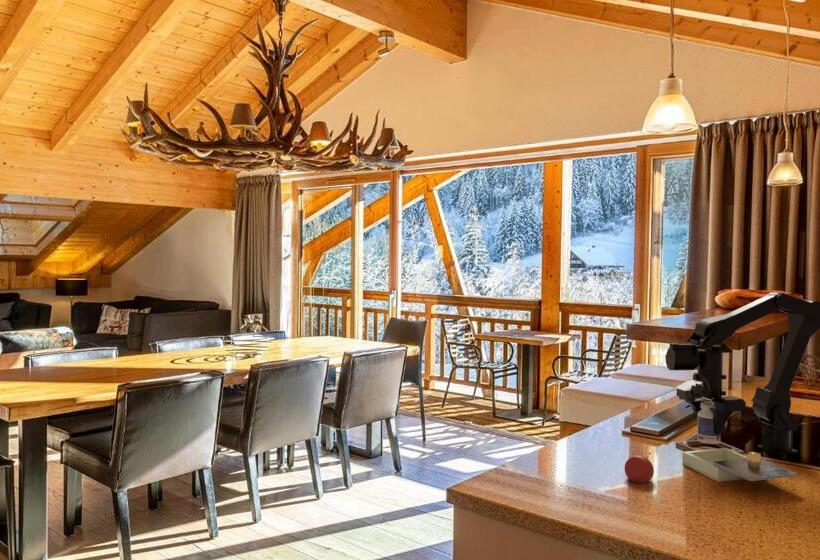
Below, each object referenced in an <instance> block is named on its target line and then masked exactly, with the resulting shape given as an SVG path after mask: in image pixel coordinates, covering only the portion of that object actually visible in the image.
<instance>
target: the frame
mask: <svg viewBox="0 0 820 560" xmlns="http://www.w3.org/2000/svg"><path fill="white" fill-rule="evenodd" d="M684 442H686V443H688V446H686V445H684V444H683V443H684ZM704 445H708V444H707V443H702V442H700V441H698V439H692V440H680V441H675V447H676V448H679V449H681V450H683V451H684V452H687V451H697V450H698V449H695V448H693V446H704ZM713 445H714V446H717V447H718V448H727V449H730V450H731V449H735V450H736V451H735V452H737V453H739V454H742V455H744V456H745V451H744V450H742V449H740V448H737V447H735V446H732V445H729V444H727V443H725V442H722V441H720V443H718V444H713Z"/></svg>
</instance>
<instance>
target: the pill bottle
mask: <svg viewBox="0 0 820 560" xmlns="http://www.w3.org/2000/svg"><path fill="white" fill-rule="evenodd" d="M709 408H715V406H714V403H713V402H701V409H702V410H700V411H699V412H698V423H697V422H696V423H697V425H696V426H697V431H696V432H697V435H696V436H697V438H696V440H698V441H700V442H702V443H707V444H706V445H714V444H718V443H720V442H721V439H722V438H721V435H722V434H721V433H722V431H721V432H720V434H719V435H716V434H715V432H714V420H713V413H712V412H711V411H710V410H709Z"/></svg>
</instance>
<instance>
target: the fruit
mask: <svg viewBox="0 0 820 560" xmlns="http://www.w3.org/2000/svg"><path fill="white" fill-rule="evenodd" d="M651 453H652V452H648V455H647V457H645V456H643V455H641V454H640V455H636V454H635V455H633V456H632V455H631V456H630V457H628V458H627V460H626V462H625V463H624V475H625V476H626V477H627V479H628V480H629V481H631V482H633V483H634V484H635V483H636V484H648V483H649V482H650V481H651V480H652V479H653V476H654V474H655V470H654V465H653V463H652V462H651V460H649V459H648V458H649V455H651Z"/></svg>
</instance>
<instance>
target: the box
mask: <svg viewBox="0 0 820 560" xmlns="http://www.w3.org/2000/svg"><path fill="white" fill-rule="evenodd" d="M696 450H697V451H682V465H683V466H685V467H687V468H689V469H692V470H694V471H695V472H697V473H700V474H702V475H703V476H705V477H708V478H710V479H712V480H714V481H716V482H718V483H719V482H727V481H728V482H729V481H738V480H746V479H745V478H743V477H740V476H738V475H736V474H734V473H732V472H729V471H727V470H725V469H723V468H721V467H718V466H716V465H714V464H713V462H714V461H724V460H734V459H744V458H748V455H747V456H746V455H745V454H744V455H742V454H739V453H737V452H735V451H732V450H730V449H727V448H721V447H718V448H709V449H696Z"/></svg>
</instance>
